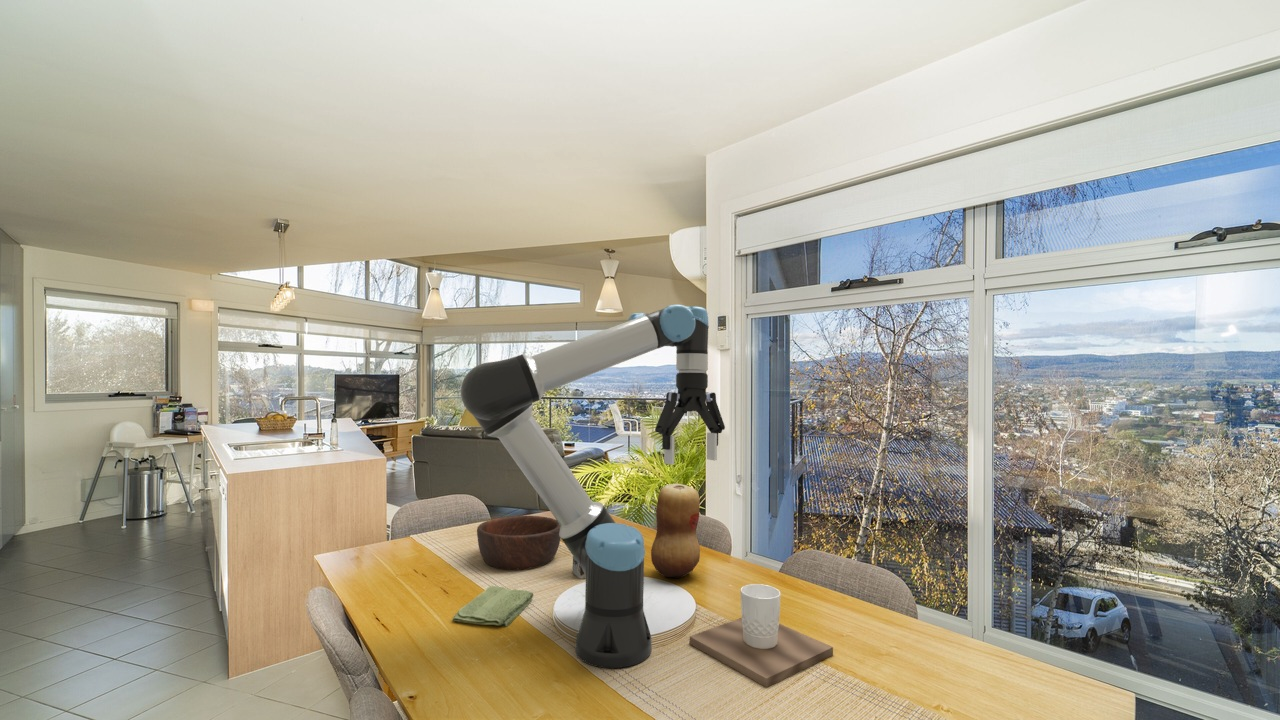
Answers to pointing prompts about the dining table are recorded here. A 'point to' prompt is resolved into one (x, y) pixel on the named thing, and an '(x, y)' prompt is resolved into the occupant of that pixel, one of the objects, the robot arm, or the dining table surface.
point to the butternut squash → (676, 531)
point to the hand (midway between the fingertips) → (691, 461)
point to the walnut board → (761, 652)
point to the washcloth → (495, 607)
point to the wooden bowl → (518, 541)
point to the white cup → (760, 615)
